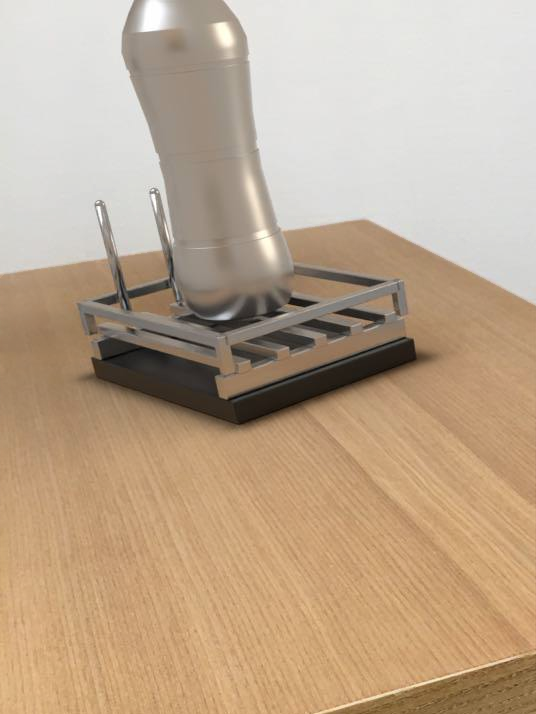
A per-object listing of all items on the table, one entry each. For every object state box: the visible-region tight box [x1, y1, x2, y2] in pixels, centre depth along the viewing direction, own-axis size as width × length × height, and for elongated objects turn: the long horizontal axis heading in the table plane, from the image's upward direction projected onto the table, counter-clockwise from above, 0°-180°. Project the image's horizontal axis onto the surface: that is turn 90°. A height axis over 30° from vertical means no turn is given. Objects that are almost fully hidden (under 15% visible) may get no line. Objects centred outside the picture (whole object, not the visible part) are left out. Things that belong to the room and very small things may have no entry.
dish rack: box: [76, 187, 417, 425], centre depth 70 cm, size 16×12×10 cm
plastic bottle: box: [120, 0, 295, 320], centre depth 66 cm, size 6×7×20 cm
